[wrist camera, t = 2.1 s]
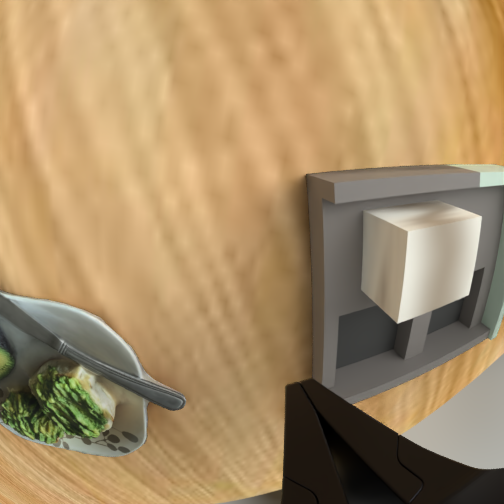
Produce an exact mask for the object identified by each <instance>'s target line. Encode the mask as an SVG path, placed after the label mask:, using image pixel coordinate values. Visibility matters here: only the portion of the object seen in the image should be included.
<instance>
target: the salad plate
mask: <svg viewBox="0 0 504 504" xmlns="http://www.w3.org/2000/svg"><path fill="white" fill-rule="evenodd" d="M148 402H152V403H154V404H157V405H159V406H161V407H163V408H166V409H168V410H173V411H175V410H179V409H182V408H183V407H184V406H185V404H186V398H185V396H184V395H183V394H182V393H180V392H178V391H176V390H174V389H173V388H171V387H168V386H166V385H163V384H162V383H159V382H158V381H156V380H154V379H153V378H152V377H150V376H149V375H148V374H147V373H146V372H145V371H144V369H143V367H142V365H141V363H140V362H139V359H138V357H137V355H136V353H135V352H134V350H133V349H132V348H131V346H130V345H129V344H127V343H126V342H125V341H124V340H123V338H122V337H120V336H119V335H118V334H117V333H116V332H115V331H114V330H112V329H111V328H110V327H109V326H108V325H107V324H106V323H105V321H104V320H103V319H102V318H100V317H99V316H97V315H94V314H92V313H90V312H88V311H86V310H83V309H80V308H77V307H74V306H71V305H68V304H65V303H61V302H56V301H51V300H48V299H38V298H31V297H26V296H20V295H14V294H11V293H8V292H4V291H2V290H0V424H1V425H3V426H4V427H5V428H7V429H8V430H10V431H11V432H13V433H14V434H16V435H18V436H20V437H22V438H24V439H26V440H29V441H32V442H36V443H40V444H44V445H48V446H54V447H58V448H64V449H67V450H74V451H78V452H82V453H85V454H92V455H98V456H105V457H118V456H123V455H127V454H129V453H131V452H133V451H135V450H137V449H138V448H139V447H141V446H142V445H143V444H144V443H145V442H146V438H147V424H148V423H147V421H148V417H147V406H148Z"/></svg>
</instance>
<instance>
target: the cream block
mask: <svg viewBox="0 0 504 504" xmlns="http://www.w3.org/2000/svg"><path fill="white" fill-rule="evenodd" d="M481 220H482V216H480V215H477V214H474V213H472V212H469V211H466V210H464V209H461V208H458V207H455V206H453V205H450V204H447V203H444V202H441V201H438V200H434V201H426V202H419V203H412V204H404V205H397V206H390V207H383V208H376V209H369V210H363V259H362V282H361V290H362V291H363V292H364V293H365V294H366V295H367V296H368V297H369V298H370V299H371V300H372V301H374V302H375V303H376V304H377V305H378V306H379V307H380V308H381V309H382V310H383V311H384V312H385V313H386V314H388V315H389V316H390V317H391V318H392V319H393V320H394V321H395V322H396V323H397V324H398V323H401V322H404V321H406V320H409V319H412V318H414V317H417V316H419V315H422V314H425V313H427V312H430V311H432V310H435V309H437V308H439V307H442V306H444V305H447V304H449V303H451V302H454V301H456V300H458V299H461V298H463V297H465V296H467V295H469V292H470V288H471V283H472V278H473V273H474V268H475V262H476V257H477V250H478V244H479V237H480V229H481Z"/></svg>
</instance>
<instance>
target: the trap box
mask: <svg viewBox="0 0 504 504" xmlns="http://www.w3.org/2000/svg"><path fill="white" fill-rule="evenodd" d="M306 177H307V191H308V206H309V224H310V244H311V270H312V314H313V366H312V378H313V379H315V380H316V381H318V382H319V383H321V384H322V385H324V386H325V387H326V388H328V389H329V390H331V391H332V392H334V393H335V394H337V395H338V396H340V397H341V398H343V399H344V400H346V401H347V402H349V403H350V404H354V403H357V402H359V401H362V400H364V399H367V398H370V397H372V396H375V395H377V394H380V393H382V392H384V391H387V390H389V389H391V388H394V387H396V386H398V385H400V384H403V383H405V382H407V381H409V380H411V379H414V378H416V377H418V376H420V375H422V374H424V373H426V372H428V371H430V370H432V369H434V368H436V367H438V366H440V365H442V364H443V363H445V362H447V361H449V360H451V359H453V358H455V357H456V356H458V355H460V354H462V353H463V352H465V351H467V350H469V349H470V348H472V347H474V346H475V345H477V344H479V343H480V342H482V341H483V340H485V339H487V338H489V339H490V340H492V339H494V338H495V337H496V336H497V333H498V330H499V328H500V325H501V322H502V319H503V316H504V166H500V165H496V164H452V165H419V166H399V167H382V168H368V169H355V170H343V171H332V172H322V173H312V174H306ZM434 200H438V201H441V202H444V203H447V204H450V205H453V206H455V207H458V208H461V209H464V210H466V211H469V212H472V213H474V214H477V215H480V216H482V220H481V229H480V237H479V244H478V250H477V257H476V262H475V268H474V273H473V278H472V283H471V288H470V292H469V295H467V296H465V297H463V298H461V299H458V300H456V301H454V302H451V303H449V304H447V305H444V306H442V307H439V308H437V309H435V310H432V311H430V312H427V313H425V314H422V315H419V316H417V317H414V318H412V319H409V320H406V321H404V322H401V323H398V324H397V323H396V322H395V321H394V320H393V319H392V318H391V317H390V316H389V315H388V314H386V313H385V312H384V311H383V310H382V309H381V308H380V307H379V306H378V305H377V304H376V303H375V302H374V301H372V300H371V299H370V298H369V297H368V296H367V295H366V294H365V293H364V292H363V291H362V290H361V282H362V259H363V210H369V209H376V208H383V207H390V206H397V205H404V204H412V203H419V202H426V201H434Z"/></svg>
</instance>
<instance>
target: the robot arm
mask: <svg viewBox="0 0 504 504" xmlns="http://www.w3.org/2000/svg"><path fill="white" fill-rule="evenodd" d="M281 504H504V468H501V469H478V468H473V467H470V466H467V465H464V464H462V463H459V462H456V461H454V460H451V459H449V458H446V457H444V456H441V455H439V454H436V453H434V452H432V451H429V450H427V449H425V448H423V447H421V446H419V445H417V444H415V443H414V442H412V441H410V440H408V439H407V438H405V437H403V436H402V435H399V436H398V433H396V432H395V431H393V430H392V429H390V428H388V427H387V426H385V425H383V424H382V423H380V422H379V421H377V420H375V419H374V418H372V417H371V416H369V415H367V414H366V413H364V412H363V411H361V410H360V409H358V408H357V407H355V406H354V405H352V404H350V403H349V402H347V401H346V400H344V399H343V398H341V397H340V396H338V395H337V394H335V393H334V392H332V391H331V390H329V389H328V388H326V387H325V386H324V385H322V384H321V383H319V382H318V381H316V380H315V379H313V378H309V379H305V380H302V381H300V382H295V383H291V384H287V385H286V386H285V427H284V460H283V481H282V496H281Z"/></svg>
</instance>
